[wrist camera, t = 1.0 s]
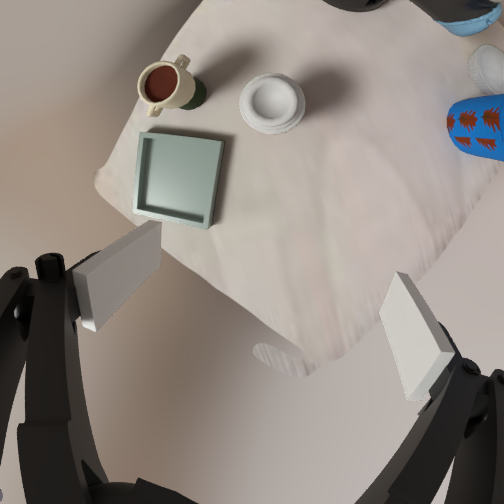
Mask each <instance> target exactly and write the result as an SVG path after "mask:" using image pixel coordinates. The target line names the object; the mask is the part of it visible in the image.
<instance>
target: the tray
mask: <svg viewBox="0 0 504 504" xmlns="http://www.w3.org/2000/svg"><path fill="white" fill-rule="evenodd" d="M224 145H225V141H218V140H212V139H205V138H197V137H189V136H181V135H172V134H162V133H151V132H140V136H139V143H138V152H137V161H136V171H135V183H134V197H133V213H134V214H139V215H144V216H148V217H153V218H157V219H162V220H166V221H171V222H175V223H179V224H184V225H188V226H193V227H197V228H202V229H206V230H208V229H209V228H210V227H211V226H212V219H213V212H214V205H215V199H216V192H217V186H218V180H219V174H220V168H221V162H222V156H223V150H224Z"/></svg>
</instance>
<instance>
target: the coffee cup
mask: <svg viewBox="0 0 504 504" xmlns="http://www.w3.org/2000/svg"><path fill="white" fill-rule="evenodd" d="M305 105H306V100H305V97H304V94H303V90H302V89H301V88H300V86H299V85H298V84H297V83H296V82H295V81H294V80H293V79H291V78H289V77H287V76H285V75H283V74H277V73H267V74H263V75H259V76H256V77H255V78H254V79H252V80H251V81H250V82H248V83H247V84H246V86H245V88H244V89H243V91H242V93H241V95H240V103H239V107H240V111H241V114H242V117H243V119H244V120H245V121H246V122H247V124H248V125H249V126H250V127H251V128H253V129H255V130H257V131H259V132H261V133H263V134H271V135H277V134H281V133H285V132H288V131H290V130H291V129H292V128H294V127H295V126H297V125H298V124H299V122H300V120H301V119H302V117H303V115H304V113H305Z"/></svg>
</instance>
